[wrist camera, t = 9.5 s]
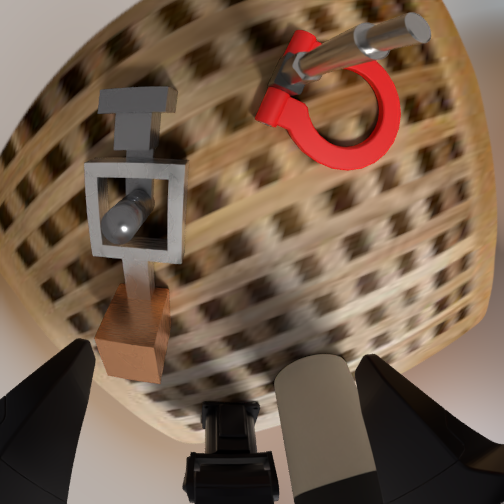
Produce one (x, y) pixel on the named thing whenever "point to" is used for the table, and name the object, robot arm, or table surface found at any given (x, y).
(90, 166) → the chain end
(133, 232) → the hook
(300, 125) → the tow hook
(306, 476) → the travel mug
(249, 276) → the table surface
